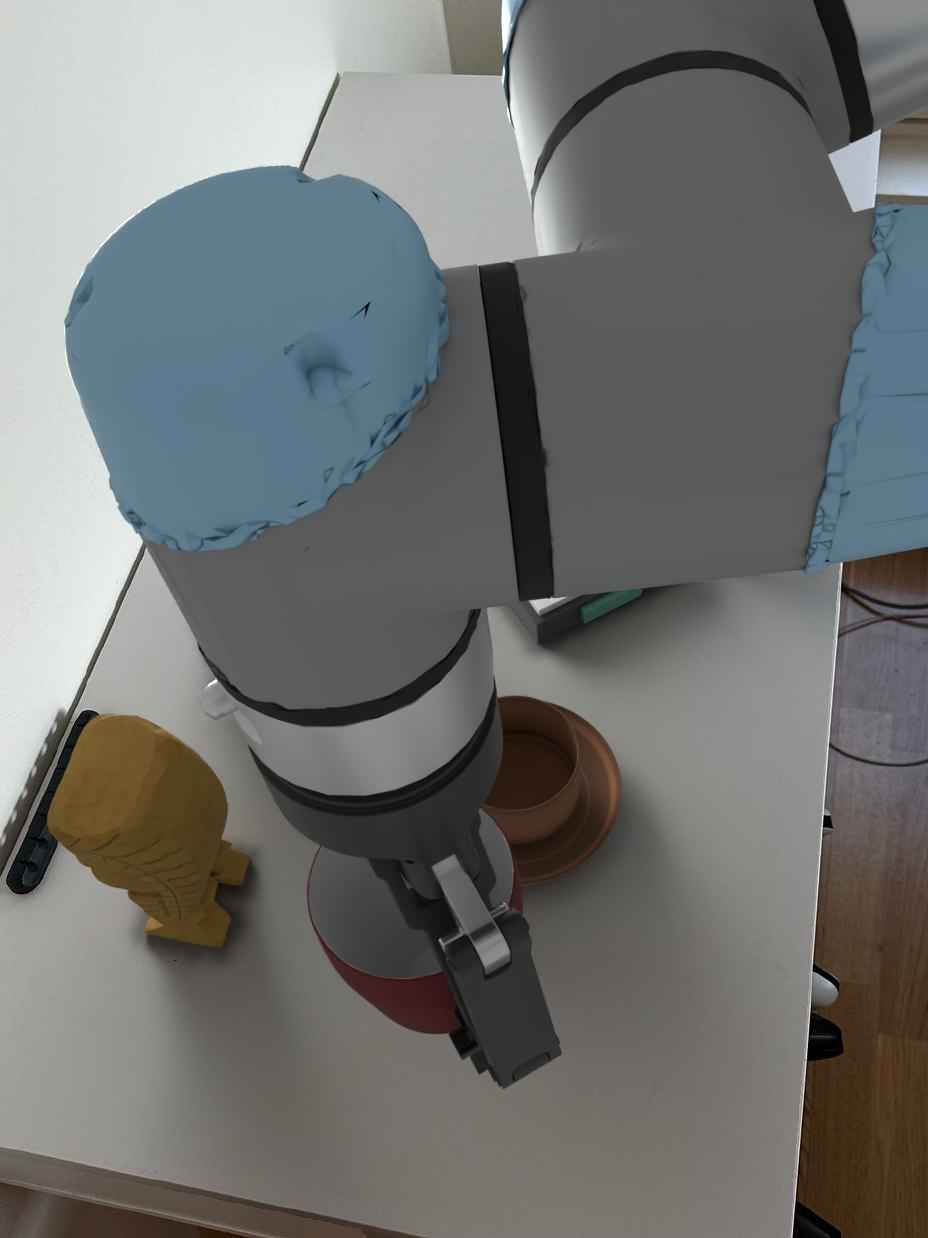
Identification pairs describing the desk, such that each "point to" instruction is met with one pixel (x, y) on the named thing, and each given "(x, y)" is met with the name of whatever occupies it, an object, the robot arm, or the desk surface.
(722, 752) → the desk surface
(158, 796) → the figurine
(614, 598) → the scale
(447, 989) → the mug
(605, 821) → the cup and saucer
